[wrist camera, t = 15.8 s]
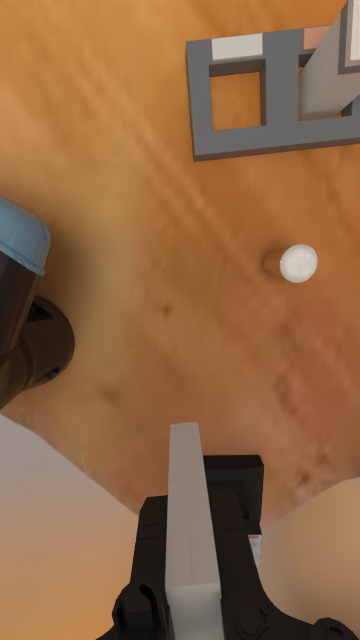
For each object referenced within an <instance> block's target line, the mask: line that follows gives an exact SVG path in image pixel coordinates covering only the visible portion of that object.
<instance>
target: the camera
mask: <svg viewBox="0 0 360 640" xmlns="http://www.w3.org/2000/svg"><path fill="white" fill-rule="evenodd" d="M203 463H204V470H205V477H206V484H207V490H216V489H226V488H231V490H232V491H233V492H234V494H235V495H236V497H237V498H238V500H239V503H240V507H241V511H242V514H243V518H244V522H245V526H246V530H247V533H248V537H249V541H250V545H251V548H252V552H253V556H254V560H255V563H256V566H260V559H261V544H262V533H261V529H260V525H259V522H260V518H261V507H262V492H263V476H264V465H263V463H262V460H261V458H260V456H259V455H213V456H203Z"/></svg>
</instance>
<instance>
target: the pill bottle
mask: <svg viewBox="0 0 360 640" xmlns="http://www.w3.org/2000/svg"><path fill="white" fill-rule="evenodd" d="M317 262H318V260H317V255H316V253H315V251H314V249H313V248H312V247H310V246H308V245H303V244H298V245H294V246H292V247H289V248H286V249H282V250H279V251H275V252H272V253H270V254H268V255H266V256H265V258H264V260H263V262H262V265H263V269H264V270H265V271H266V272H267V273H268V274H271V275H274V276H277V277H280V278H283V279H285V280H288V281H290V282H295V283H299V282H304V281H306V280H308V279H309V278H310V277H311V276H312V275H313V274H314V272H315V270H316V267H317Z"/></svg>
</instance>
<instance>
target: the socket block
mask: <svg viewBox="0 0 360 640" xmlns="http://www.w3.org/2000/svg"><path fill="white" fill-rule="evenodd" d="M331 26H332V25H327V26H318V27H309V28H301V29H292V30H283V31H275V32H266V33H257V34H248V35H240V36H231V37H222V38H214V39H205V40H196V41H187V42H186V68H187V80H188V93H189V106H190V118H191V131H192V143H193V156H194V162H196V161H205V160H214V159H223V158H232V157H241V156H250V155H259V154H268V153H277V152H286V151H295V150H304V149H313V148H322V147H331V146H340V145H349V144H358V143H360V94H359V95H358V96H357V97H356V98H355V99H354V100H352V101H351V102H350V103H349V104H348V105H347V106H346V107H345V108H344V109H343V110H342V117H337V118H328V119H319V120H310V121H301V122H298V67H303V66H305V65H306V64H307V62H308V61H309V59H310V58H311V56H312V55H313V53H314V52H315V50H316V49H317V47H318V46H319V44H320V43H321V41H322V40H323V38H324V37H325V35H326V34H327V32H328V31H329V29H330V28H331ZM259 71H260V99H261V126H256V127H247V128H238V129H229V130H221V131H213V129H212V113H211V96H210V80H209V77H214V76H223V75H232V74H241V73H250V72H259Z"/></svg>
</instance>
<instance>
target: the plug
mask: <svg viewBox="0 0 360 640" xmlns="http://www.w3.org/2000/svg"><path fill="white" fill-rule="evenodd" d="M359 94H360V0H348V1H347V2H346V4H345V5H344V7H343V8H342V10H341V13H340V14H339V16H338V17H337V19H336V20H335V22H334V23H333V25H332V26H331V28H330V29H329V31H328V32H327V34H326V35H325V37H324V38H323V40H322V41H321V43H320V44H319V46H318V47H317V49H316V50H315V52H314V53H313V55H312V56H311V58H310V59H309V61H308V62H307V64H306V65H305V67H304V68H303V70H302V72H301V73H300V75H299V76H298V121H305V120H314V119H323V118H332V117H335V116H336V115H337V114H338V113H339V112H340V111H341V110H343V109H344V108H345V107H346V106H347V105H348V104H349V103H350V102H351V101H352V100H354V99H355V98H356V97H357V96H358V95H359Z"/></svg>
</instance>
